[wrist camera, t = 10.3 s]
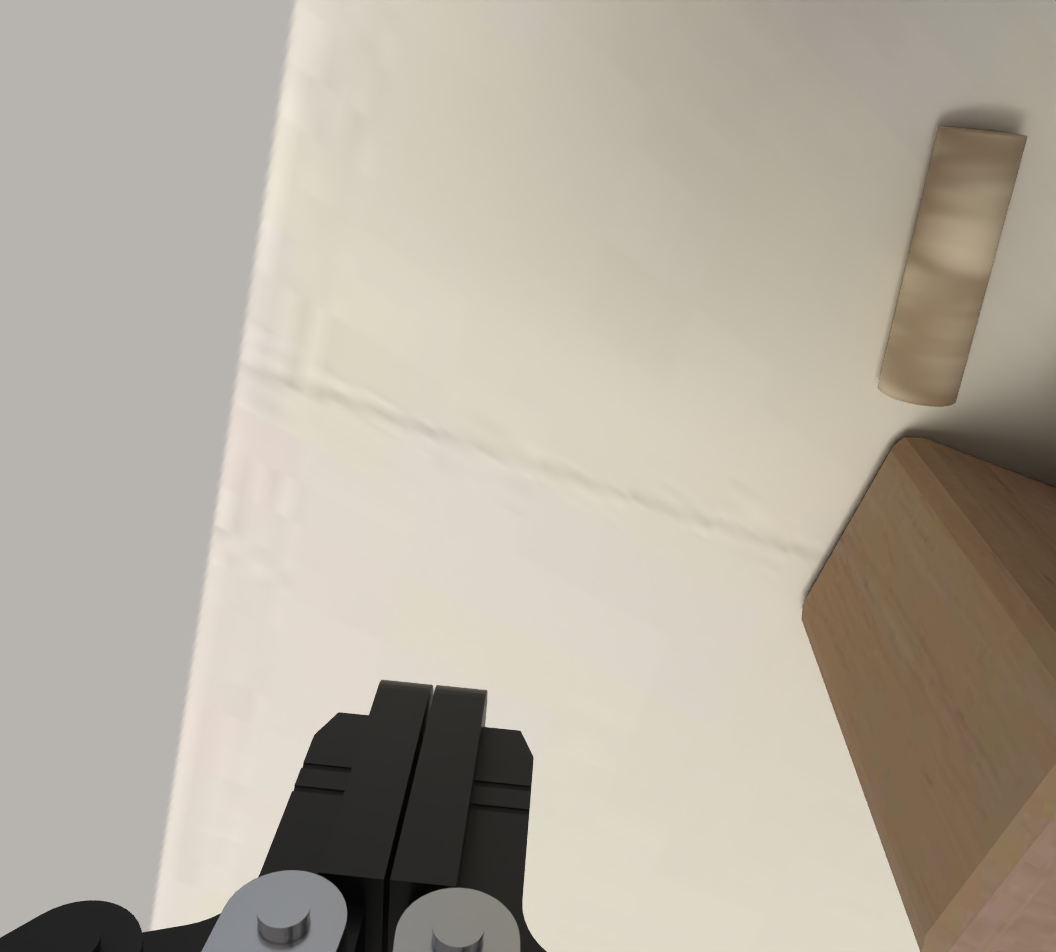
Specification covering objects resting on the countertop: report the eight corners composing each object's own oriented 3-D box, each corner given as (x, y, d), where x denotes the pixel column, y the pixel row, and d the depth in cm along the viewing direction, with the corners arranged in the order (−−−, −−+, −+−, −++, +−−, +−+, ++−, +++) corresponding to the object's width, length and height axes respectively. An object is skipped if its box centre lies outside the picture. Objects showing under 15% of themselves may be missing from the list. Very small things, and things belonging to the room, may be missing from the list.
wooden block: (1106, 501, 43) (1483, 847, 25) (983, 680, 47) (1230, 1091, 29) (896, 421, 42) (1128, 718, 24) (788, 610, 46) (917, 989, 28)
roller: (1042, 137, 36) (965, 126, 38) (1001, 137, 34) (922, 126, 36) (970, 399, 40) (903, 376, 42) (930, 411, 38) (862, 387, 41)
